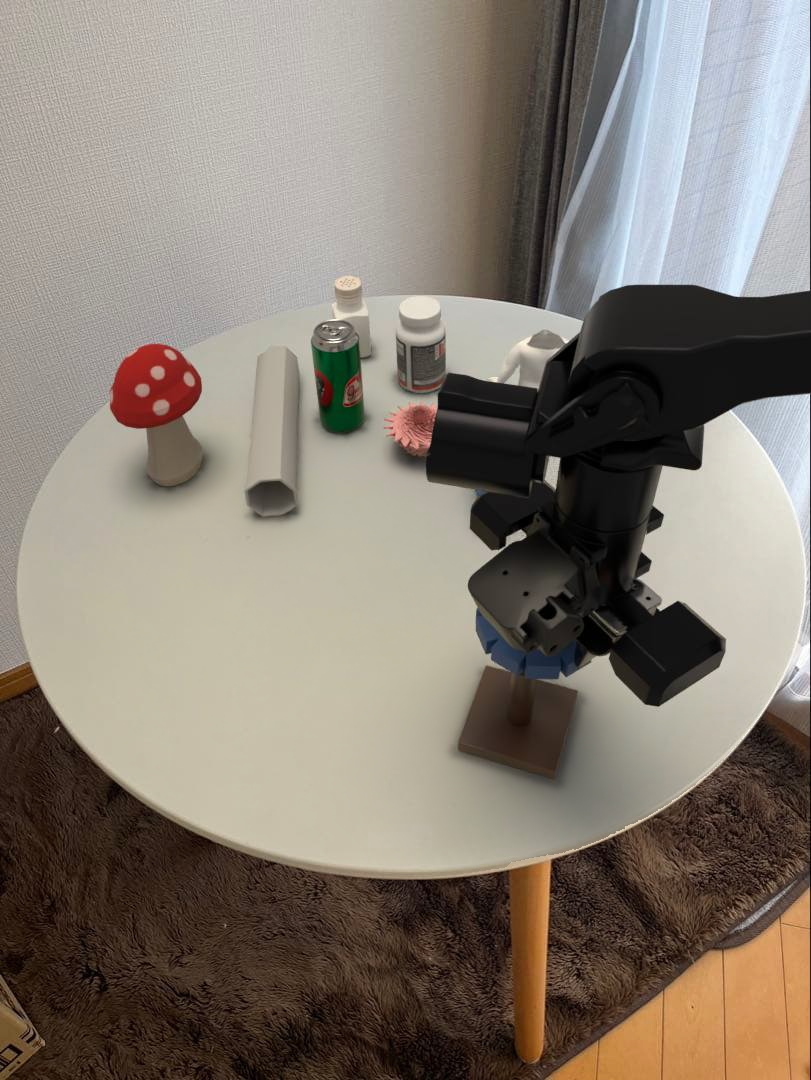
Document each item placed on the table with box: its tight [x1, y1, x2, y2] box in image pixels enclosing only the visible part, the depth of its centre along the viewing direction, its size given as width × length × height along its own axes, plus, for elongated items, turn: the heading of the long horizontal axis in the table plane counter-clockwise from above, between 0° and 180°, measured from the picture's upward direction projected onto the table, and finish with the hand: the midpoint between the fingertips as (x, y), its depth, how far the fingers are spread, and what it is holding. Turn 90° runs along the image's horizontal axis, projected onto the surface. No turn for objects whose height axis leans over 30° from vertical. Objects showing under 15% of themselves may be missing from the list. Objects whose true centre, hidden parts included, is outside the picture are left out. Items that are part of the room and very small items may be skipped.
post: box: [457, 665, 579, 780], centre depth 71 cm, size 8×8×8 cm
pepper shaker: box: [330, 275, 372, 359], centre depth 108 cm, size 4×4×10 cm
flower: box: [382, 401, 438, 458], centre depth 96 cm, size 8×8×6 cm
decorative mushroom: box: [109, 343, 204, 487], centre depth 92 cm, size 10×9×15 cm
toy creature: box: [487, 329, 570, 392], centre depth 96 cm, size 12×6×12 cm, turn 87°
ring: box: [475, 606, 597, 681], centre depth 67 cm, size 9×10×2 cm
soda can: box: [310, 318, 366, 433], centre depth 98 cm, size 5×5×12 cm
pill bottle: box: [395, 295, 447, 394], centre depth 103 cm, size 6×6×10 cm
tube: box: [243, 344, 300, 518], centre depth 99 cm, size 5×5×25 cm
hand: (572, 654), depth 65 cm, fingers closed on ring, 1 cm apart
